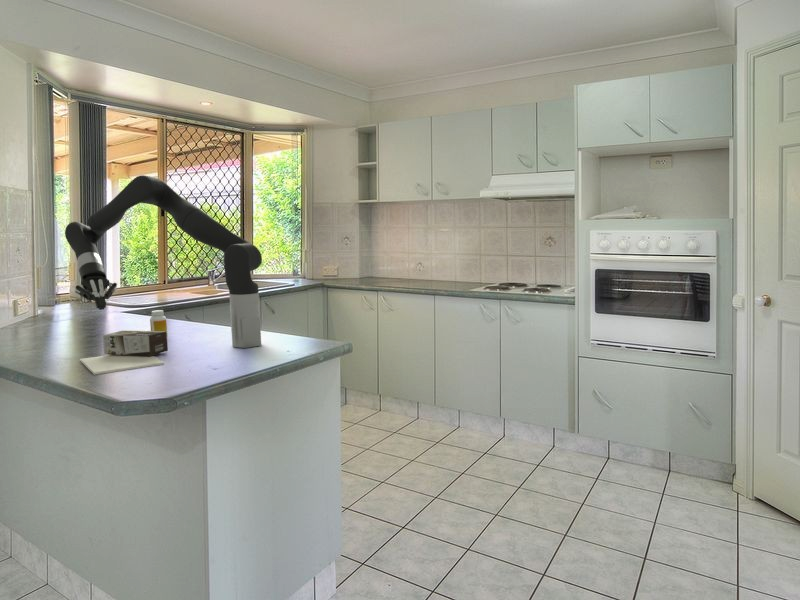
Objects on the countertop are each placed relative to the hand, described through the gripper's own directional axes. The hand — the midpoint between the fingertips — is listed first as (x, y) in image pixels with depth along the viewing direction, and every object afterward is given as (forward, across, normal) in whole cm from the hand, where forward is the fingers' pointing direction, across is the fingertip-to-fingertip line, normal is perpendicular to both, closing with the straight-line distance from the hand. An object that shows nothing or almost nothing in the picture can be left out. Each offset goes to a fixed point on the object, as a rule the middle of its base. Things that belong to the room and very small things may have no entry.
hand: (102, 307), depth 191 cm
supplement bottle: (+3, +19, +16) cm, 26 cm away
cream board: (+27, -1, -8) cm, 29 cm away
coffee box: (+15, 0, -1) cm, 15 cm away
